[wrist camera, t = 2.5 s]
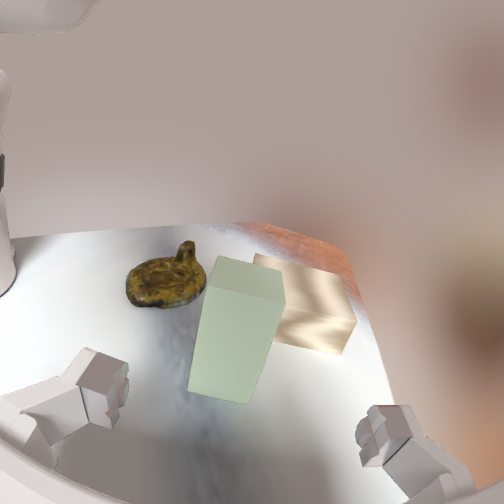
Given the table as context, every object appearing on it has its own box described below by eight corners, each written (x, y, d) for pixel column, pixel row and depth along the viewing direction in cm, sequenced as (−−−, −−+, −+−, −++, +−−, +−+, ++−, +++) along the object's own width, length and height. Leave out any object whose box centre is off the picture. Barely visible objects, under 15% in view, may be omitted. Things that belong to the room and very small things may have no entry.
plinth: (234, 333, 31) (245, 294, 29) (246, 285, 42) (255, 253, 41) (339, 357, 31) (357, 321, 29) (326, 305, 42) (338, 275, 40)
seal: (174, 333, 30) (215, 277, 44) (184, 298, 28) (225, 250, 42) (103, 296, 30) (160, 253, 44) (107, 260, 29) (167, 225, 43)
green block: (187, 391, 22) (206, 285, 18) (198, 353, 26) (218, 255, 23) (248, 404, 22) (286, 303, 18) (250, 365, 26) (281, 270, 23)
